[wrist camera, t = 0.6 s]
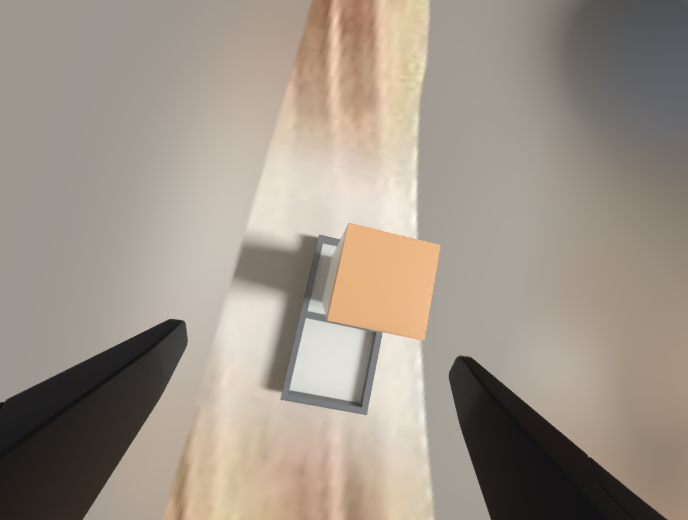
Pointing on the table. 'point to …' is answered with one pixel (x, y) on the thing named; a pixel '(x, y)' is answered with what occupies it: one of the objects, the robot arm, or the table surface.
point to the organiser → (329, 350)
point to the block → (381, 282)
